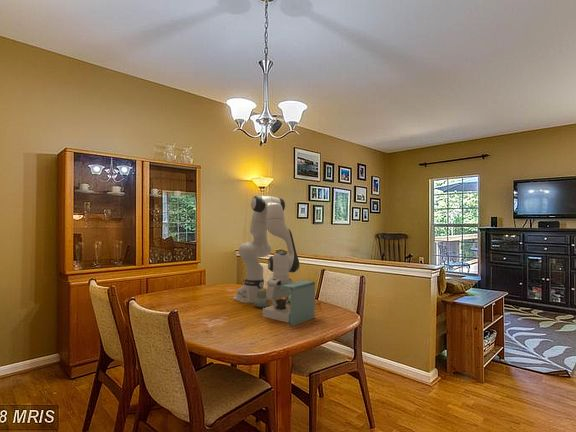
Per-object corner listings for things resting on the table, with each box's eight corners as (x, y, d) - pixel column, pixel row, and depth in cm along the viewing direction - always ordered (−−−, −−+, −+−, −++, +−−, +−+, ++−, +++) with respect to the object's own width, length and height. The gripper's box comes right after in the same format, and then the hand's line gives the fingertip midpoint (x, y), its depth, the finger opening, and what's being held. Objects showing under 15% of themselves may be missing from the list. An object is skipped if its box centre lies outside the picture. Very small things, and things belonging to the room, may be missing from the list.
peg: (275, 316, 191) (275, 300, 191) (279, 314, 194) (280, 298, 194) (281, 317, 188) (281, 301, 188) (285, 316, 192) (285, 299, 192)
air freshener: (258, 304, 218) (259, 288, 218) (270, 305, 215) (271, 289, 215) (251, 308, 208) (251, 291, 208) (264, 309, 205) (264, 292, 205)
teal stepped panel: (280, 323, 178) (281, 285, 179) (302, 314, 194) (302, 280, 195) (293, 326, 174) (293, 287, 174) (314, 317, 190) (314, 282, 190)
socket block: (262, 316, 190) (262, 308, 190) (278, 311, 201) (278, 303, 201) (288, 322, 179) (288, 314, 179) (303, 316, 190) (303, 308, 190)
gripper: (287, 277, 202) (287, 300, 201) (264, 282, 185) (264, 307, 185) (296, 278, 198) (296, 302, 198) (273, 283, 181) (273, 309, 181)
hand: (280, 305), depth 191 cm, fingers open, 8 cm apart
